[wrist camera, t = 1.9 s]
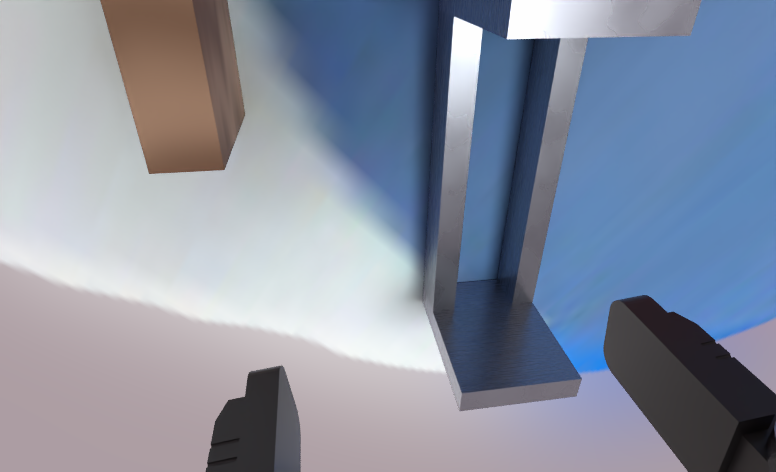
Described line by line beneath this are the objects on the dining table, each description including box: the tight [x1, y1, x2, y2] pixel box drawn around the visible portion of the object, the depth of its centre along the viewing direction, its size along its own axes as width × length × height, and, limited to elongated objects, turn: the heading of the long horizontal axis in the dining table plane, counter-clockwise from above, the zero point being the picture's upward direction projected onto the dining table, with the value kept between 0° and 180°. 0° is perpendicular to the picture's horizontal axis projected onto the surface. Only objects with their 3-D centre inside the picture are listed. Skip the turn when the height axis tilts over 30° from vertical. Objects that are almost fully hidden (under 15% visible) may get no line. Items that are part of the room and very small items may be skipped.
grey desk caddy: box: [423, 0, 701, 411], centre depth 26 cm, size 22×7×10 cm, turn 0°
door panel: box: [100, 0, 245, 174], centre depth 20 cm, size 12×3×8 cm, turn 0°
